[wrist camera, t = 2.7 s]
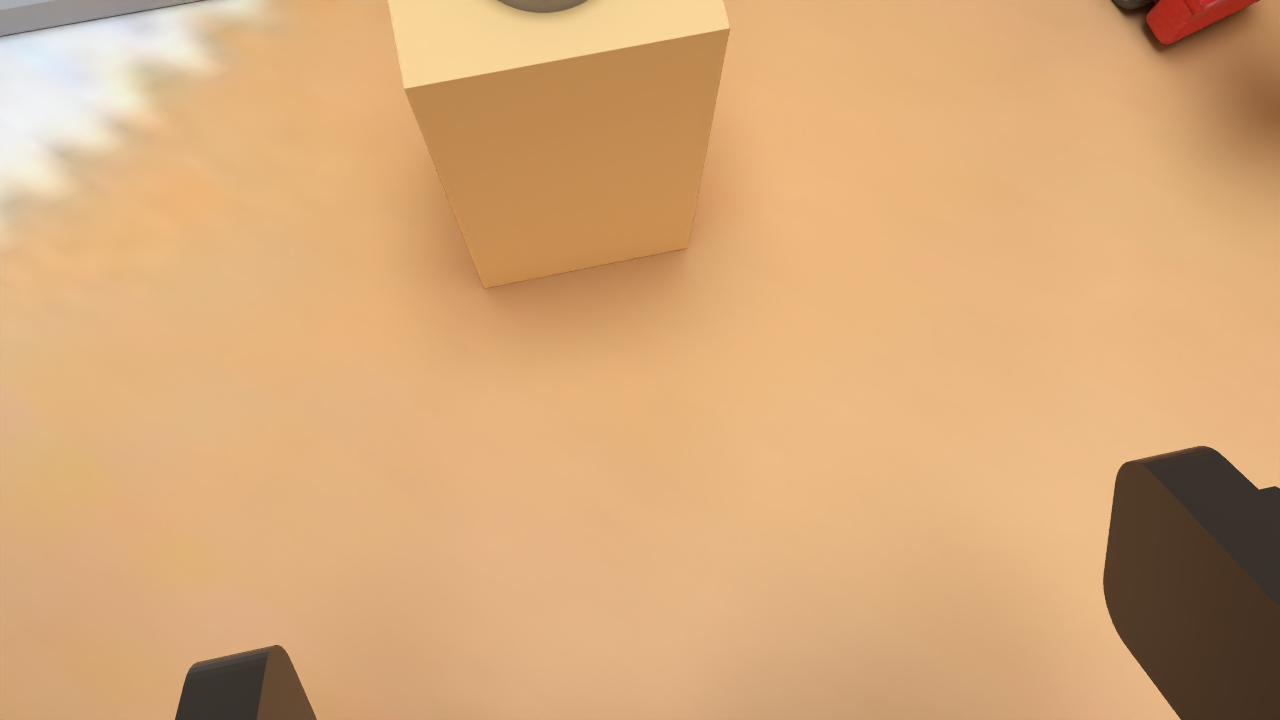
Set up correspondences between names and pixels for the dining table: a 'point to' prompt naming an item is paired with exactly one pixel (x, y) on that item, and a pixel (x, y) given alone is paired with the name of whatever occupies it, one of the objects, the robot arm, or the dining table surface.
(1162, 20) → the toy fire truck
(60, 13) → the grey insertion tray
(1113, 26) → the dining table surface
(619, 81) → the tan knobbed block
